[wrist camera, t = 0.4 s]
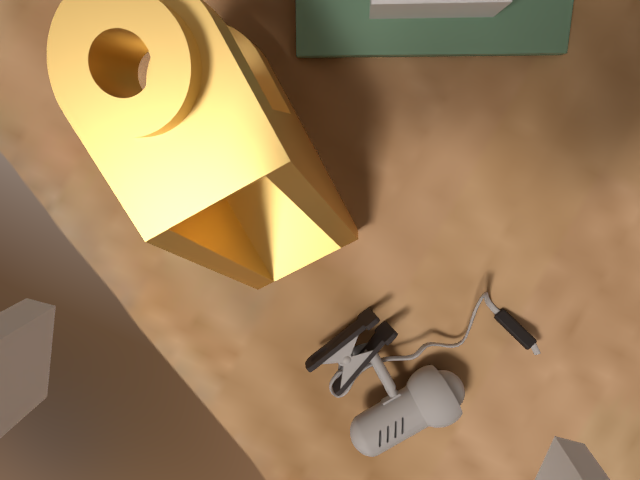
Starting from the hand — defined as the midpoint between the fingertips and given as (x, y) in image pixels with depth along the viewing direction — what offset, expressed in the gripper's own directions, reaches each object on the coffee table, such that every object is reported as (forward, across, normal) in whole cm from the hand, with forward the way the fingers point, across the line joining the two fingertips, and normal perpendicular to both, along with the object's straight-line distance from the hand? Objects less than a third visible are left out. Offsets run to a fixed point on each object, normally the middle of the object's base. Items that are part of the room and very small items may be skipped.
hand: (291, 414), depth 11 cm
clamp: (+28, -8, +3) cm, 29 cm away
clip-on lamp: (+28, +10, -10) cm, 31 cm away
